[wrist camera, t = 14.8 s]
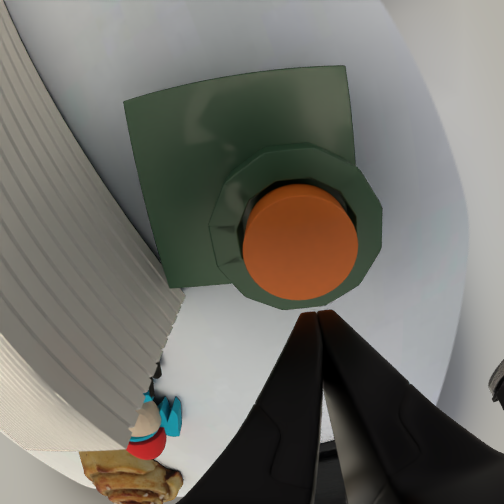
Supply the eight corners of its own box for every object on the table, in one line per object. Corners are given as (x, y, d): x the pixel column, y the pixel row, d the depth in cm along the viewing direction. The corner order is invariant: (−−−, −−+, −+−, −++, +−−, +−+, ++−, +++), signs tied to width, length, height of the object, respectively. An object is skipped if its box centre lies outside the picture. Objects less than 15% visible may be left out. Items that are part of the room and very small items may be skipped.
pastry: (192, 487, 36) (185, 531, 28) (106, 471, 37) (94, 509, 30) (165, 450, 30) (151, 507, 23) (66, 430, 31) (46, 474, 24)
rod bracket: (294, 476, 31) (295, 542, 23) (270, 453, 28) (268, 533, 20) (372, 458, 29) (383, 526, 20) (362, 432, 26) (376, 515, 17)
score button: (346, 178, 12) (357, 190, 10) (348, 272, 14) (357, 294, 12) (238, 190, 12) (233, 203, 11) (253, 283, 14) (251, 305, 13)
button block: (347, 69, 13) (372, 59, 9) (359, 260, 18) (378, 299, 14) (140, 100, 14) (104, 102, 11) (181, 278, 19) (163, 319, 15)
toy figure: (79, 310, 23) (124, 433, 27) (51, 340, 18) (111, 466, 22) (164, 311, 23) (192, 439, 27) (146, 347, 18) (186, 476, 22)
